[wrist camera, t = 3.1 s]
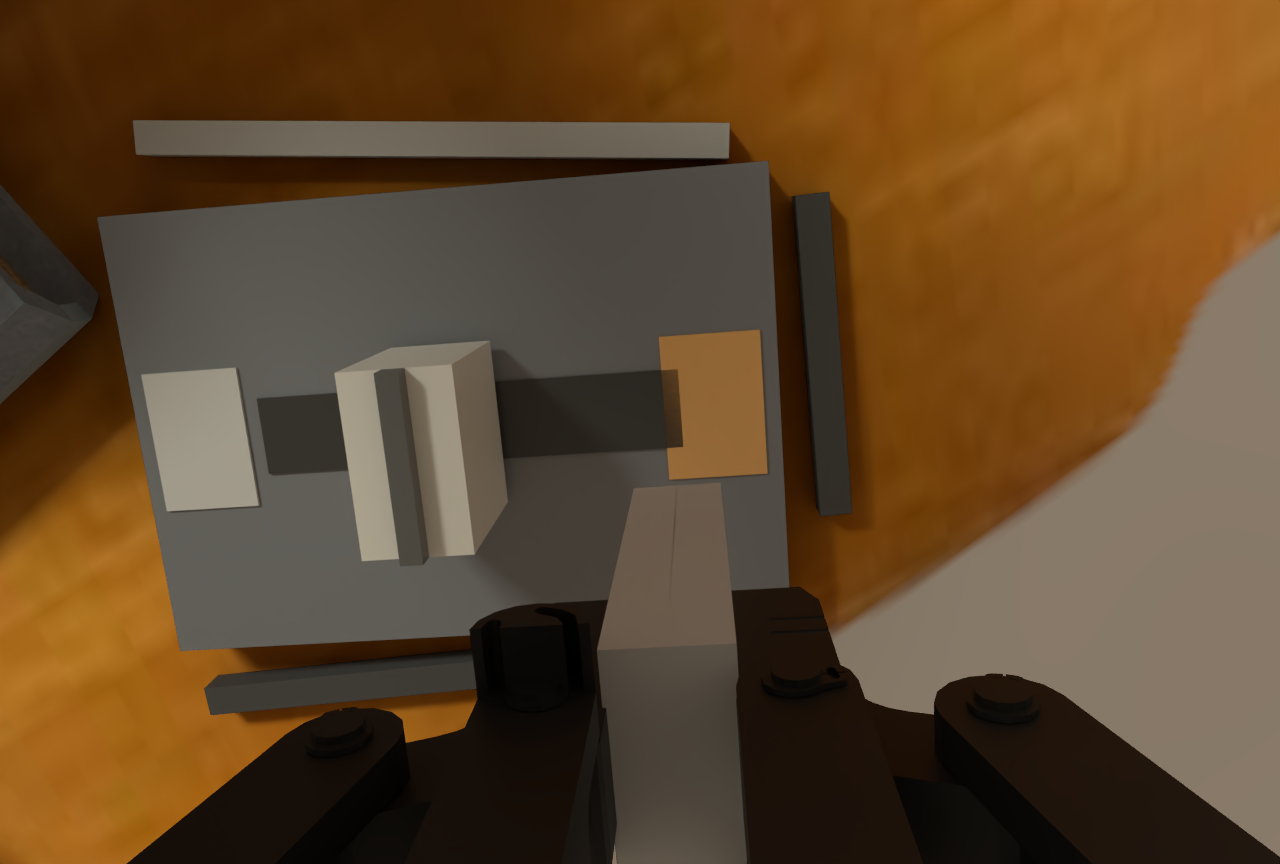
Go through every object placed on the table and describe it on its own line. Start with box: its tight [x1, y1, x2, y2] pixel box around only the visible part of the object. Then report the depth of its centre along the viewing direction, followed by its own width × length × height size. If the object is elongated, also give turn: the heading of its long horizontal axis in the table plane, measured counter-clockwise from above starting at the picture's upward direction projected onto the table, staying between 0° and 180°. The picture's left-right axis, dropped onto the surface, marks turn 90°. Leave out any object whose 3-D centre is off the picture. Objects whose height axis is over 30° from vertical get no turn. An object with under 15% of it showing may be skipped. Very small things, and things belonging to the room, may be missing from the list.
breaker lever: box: [334, 341, 508, 567], centre depth 27 cm, size 3×5×5 cm, turn 4°
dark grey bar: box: [204, 649, 476, 715], centre depth 34 cm, size 14×1×1 cm, turn 97°
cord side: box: [792, 192, 852, 516], centre depth 31 cm, size 1×10×1 cm, turn 6°
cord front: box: [133, 120, 730, 160], centre depth 30 cm, size 18×1×1 cm, turn 89°
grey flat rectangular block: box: [97, 161, 789, 651], centre depth 31 cm, size 20×14×2 cm
